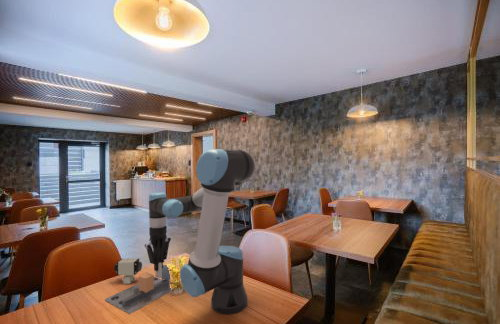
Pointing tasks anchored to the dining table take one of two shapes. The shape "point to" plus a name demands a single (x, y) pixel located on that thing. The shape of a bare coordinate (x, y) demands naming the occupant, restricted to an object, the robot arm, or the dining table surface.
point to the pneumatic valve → (128, 269)
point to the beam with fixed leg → (157, 286)
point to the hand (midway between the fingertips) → (158, 276)
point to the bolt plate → (138, 304)
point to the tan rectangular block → (146, 282)
